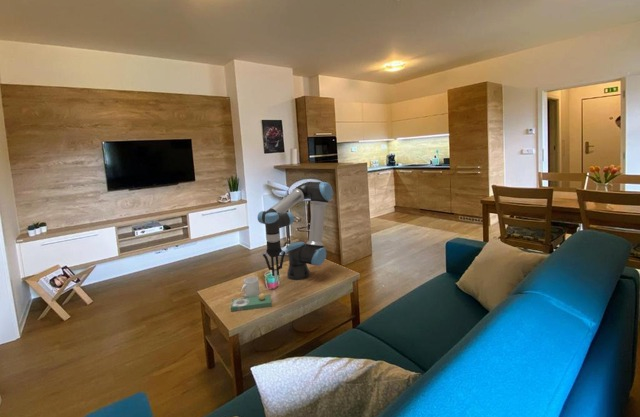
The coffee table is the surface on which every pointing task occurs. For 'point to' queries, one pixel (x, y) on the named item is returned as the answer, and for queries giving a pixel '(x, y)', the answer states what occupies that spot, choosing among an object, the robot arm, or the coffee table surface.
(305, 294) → the coffee table surface
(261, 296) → the ball
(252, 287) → the mug
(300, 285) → the coffee table surface
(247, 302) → the putting strip
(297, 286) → the coffee table surface
